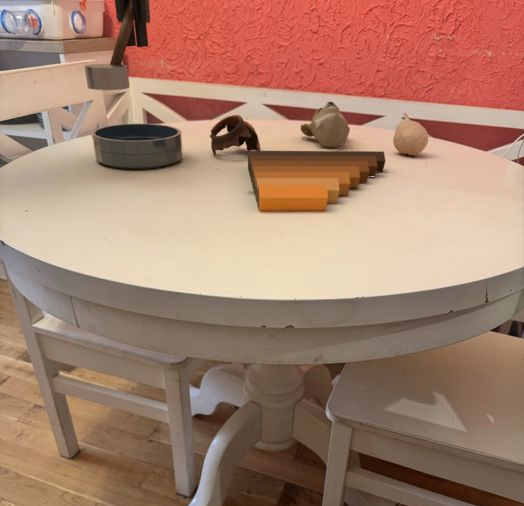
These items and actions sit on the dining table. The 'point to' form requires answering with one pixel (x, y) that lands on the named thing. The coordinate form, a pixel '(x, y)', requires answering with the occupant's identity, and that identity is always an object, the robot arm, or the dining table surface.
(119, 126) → the bowl
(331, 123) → the ceramic sculpture
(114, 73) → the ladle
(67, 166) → the dining table surface
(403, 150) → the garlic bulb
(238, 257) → the dining table surface
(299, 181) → the pan flute
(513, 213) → the dining table surface
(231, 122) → the brown hollow curved piece
